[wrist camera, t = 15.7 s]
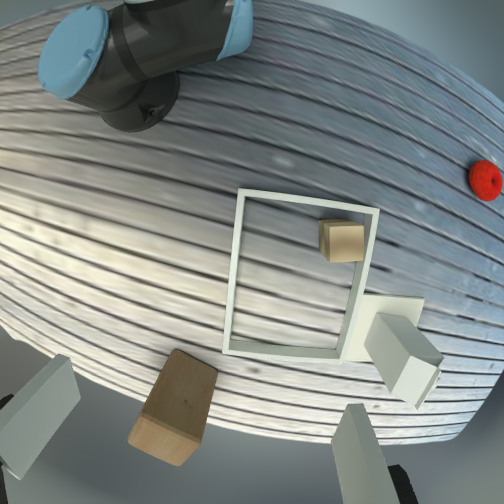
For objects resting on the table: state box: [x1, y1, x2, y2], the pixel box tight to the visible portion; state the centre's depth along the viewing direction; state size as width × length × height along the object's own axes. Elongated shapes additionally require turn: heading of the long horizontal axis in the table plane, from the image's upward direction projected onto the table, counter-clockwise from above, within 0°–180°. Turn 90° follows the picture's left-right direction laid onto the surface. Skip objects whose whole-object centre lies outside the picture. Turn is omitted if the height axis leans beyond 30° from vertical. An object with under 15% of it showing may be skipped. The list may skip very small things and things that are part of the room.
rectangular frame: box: [222, 188, 380, 364], centre depth 46 cm, size 28×22×4 cm
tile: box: [344, 293, 425, 361], centre depth 49 cm, size 14×14×1 cm
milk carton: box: [364, 313, 444, 410], centre depth 39 cm, size 7×7×19 cm
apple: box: [469, 160, 503, 201], centre depth 38 cm, size 8×8×7 cm
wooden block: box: [128, 349, 218, 466], centre depth 44 cm, size 10×10×20 cm
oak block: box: [319, 219, 364, 263], centre depth 42 cm, size 5×5×8 cm
